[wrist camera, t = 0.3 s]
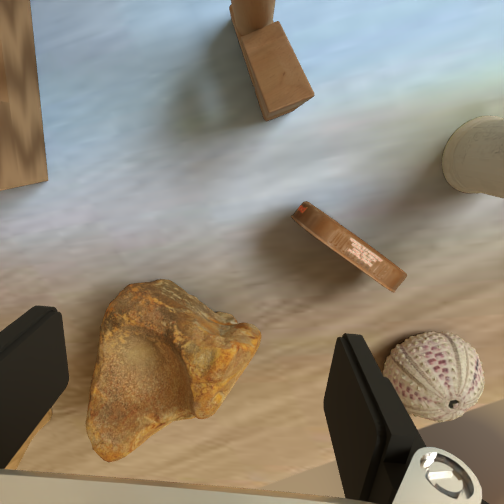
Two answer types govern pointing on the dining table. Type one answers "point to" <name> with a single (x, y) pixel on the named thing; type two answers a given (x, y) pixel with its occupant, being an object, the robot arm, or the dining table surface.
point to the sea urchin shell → (435, 375)
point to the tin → (349, 246)
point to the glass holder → (476, 157)
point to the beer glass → (28, 442)
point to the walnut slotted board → (19, 100)
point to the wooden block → (269, 58)
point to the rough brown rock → (161, 364)
